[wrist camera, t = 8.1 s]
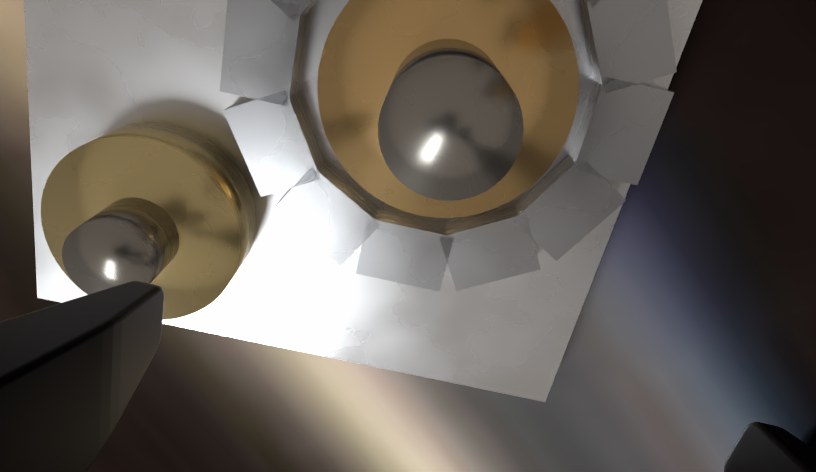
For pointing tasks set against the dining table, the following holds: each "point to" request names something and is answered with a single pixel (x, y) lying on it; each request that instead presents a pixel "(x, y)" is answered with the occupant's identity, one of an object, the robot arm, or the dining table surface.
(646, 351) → the dining table surface
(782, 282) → the dining table surface
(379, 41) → the gear
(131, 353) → the robot arm
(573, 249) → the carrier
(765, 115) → the dining table surface
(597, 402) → the dining table surface
